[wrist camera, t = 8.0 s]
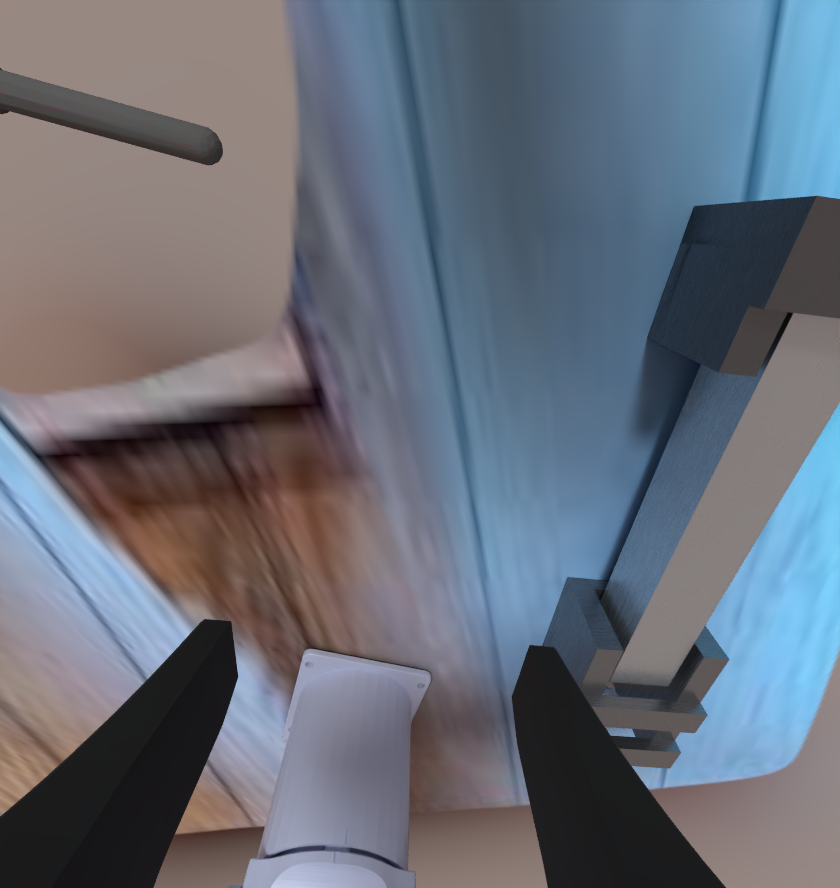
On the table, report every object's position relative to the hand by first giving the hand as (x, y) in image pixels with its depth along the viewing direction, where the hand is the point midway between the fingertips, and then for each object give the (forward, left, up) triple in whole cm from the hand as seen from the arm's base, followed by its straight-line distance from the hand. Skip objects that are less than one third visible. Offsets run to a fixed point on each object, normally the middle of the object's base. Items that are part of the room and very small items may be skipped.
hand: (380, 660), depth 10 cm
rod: (+2, -13, -9) cm, 16 cm away
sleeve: (-8, -15, -10) cm, 20 cm away
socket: (+11, -11, -10) cm, 19 cm away
